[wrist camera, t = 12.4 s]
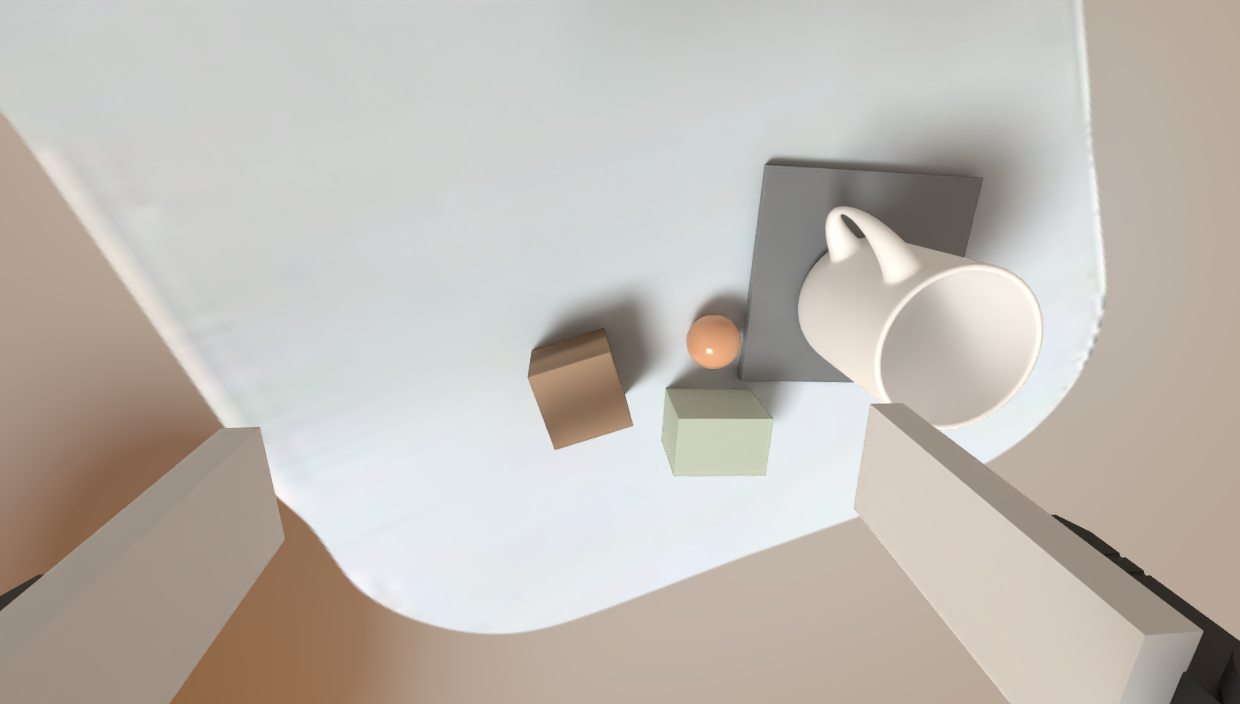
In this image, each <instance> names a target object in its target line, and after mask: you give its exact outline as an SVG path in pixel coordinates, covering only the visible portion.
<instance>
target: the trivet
mask: <svg viewBox="0 0 1240 704" xmlns="http://www.w3.org/2000/svg"><path fill="white" fill-rule="evenodd" d="M982 180H983V178H979V177H962V176H945V175H928V174H911V173H894V172H877V171H860V170H843V169H826V168H809V167H792V166H775V165H765V167H764V174H763V182H762V190H761V198H760V206H759V214H758V222H757V230H756V237H755V245H754V253H753V261H752V269H751V277H750V285H749V293H748V300H747V308H746V316H745V324H744V332H743V340H742V348H741V356H740V364H739V371H738V377H739V378H740V379H741V380H747V381H804V382H854V381H852V380H851V379H850V378H848V377H847V376H846V375H845V374H843V373H842V372H841V371H839V370H838V369H837V368H835V367H834V366H833V365H832V364H830V363H829V362H828V361H826V360H825V359H824V358H823V357H822V356H821V355H819V354H818V353H817V352H816V351H815V350H814V349H813V348H812V347H811V345H810V344H809V343H808V341H807V340H806V338H805V336H804V334H803V332H802V330H801V327H800V323H799V317H798V301H799V296H800V292H801V288H802V286H803V283H804V281H805V279H806V277H807V275H808V273H809V272H810V271H811V269H812V268H813V266H814V265H815V264H816V263H817V262H818V261H819V259H820V258H822V257H823V256H824V255H825V254H826V253H827V252H829V250H828V246H827V241H826V232H825V226H826V220H827V216H828V214H829V213H830V211H831V210H833V209H834V208H836V207H841V206H846V207H852V208H856V209H859V210H861V211H864V212H866V213H868V214H870V215H871V216H873V217H875V218H876V219H878V220H879V221H881V222H882V223H884V224H885V225H886V226H888V227H889V228H890V229H891V230H892V231H894V232H895V233H896V234H897V235H898V236H899V237H900V238H901V239H902V240H903V241H904V242H905V243H909V244H913V245H917V246H921V247H924V248H928V249H932V250H936V251H940V252H944V253H948V254H952V255H956V256H960V257H964V255H965V251H966V247H967V242H968V238H969V234H970V230H971V226H972V222H973V217H974V213H975V209H976V205H977V201H978V197H979V192H980V188H981V184H982ZM841 217H842V220H843V221H844V223H845V224H846V226H847V227H848V228H849V229H850V231H851V232H852V233H853V234H854V235H855V236H856V237H857V238H865V237H866V236H865V235H864V233H863V232H862V231H861V229H860V228H859V227H858V226H857V225H856V223H855V222H854V221H853V220H852V219H850V218H849V217H848V216H846V215H844V214H841Z"/></svg>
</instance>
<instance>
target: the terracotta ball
mask: <svg viewBox="0 0 1240 704" xmlns="http://www.w3.org/2000/svg"><path fill="white" fill-rule="evenodd" d="M686 345H687V350H688V352H689V355H690V356H691V358H692V359H693V360H694V361H695V362H696V363H697V364H699V365H701V366H703V367H705V368H710V369H718V368H722V367H725V366H727V365H728V364H730V363H731V362H732V361H733V360H734V359H735V358H736V357H737V355H738V353H739V351H740V347H741V336H740V333H739V330H738V328H737V327H736V325H735V324H734V323H733V322H732V321H731V320H729V319H728V318H726V317H724V316H720V315H707V316H704V317H701V318H700V319H698V320H697V321H695V322H694V323H693V325H692V326H691V327H690V329H689V331H688V334H687V338H686Z"/></svg>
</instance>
